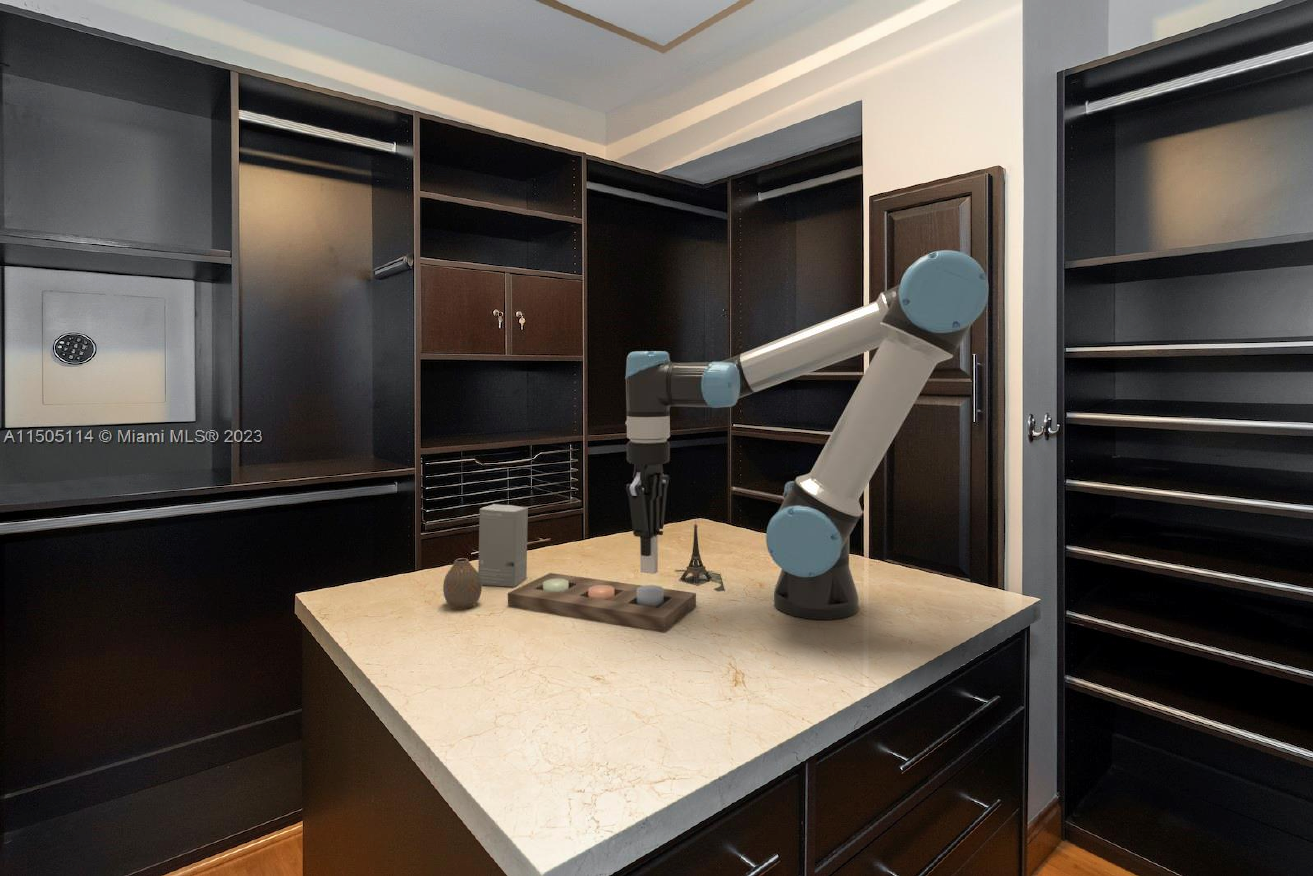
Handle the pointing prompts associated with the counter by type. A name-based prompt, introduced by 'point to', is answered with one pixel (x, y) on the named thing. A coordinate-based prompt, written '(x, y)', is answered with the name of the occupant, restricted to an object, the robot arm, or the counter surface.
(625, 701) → the counter surface
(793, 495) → the robot arm
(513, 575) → the skincare box
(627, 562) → the counter surface
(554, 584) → the button sage
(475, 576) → the vase
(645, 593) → the button slate
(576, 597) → the button board
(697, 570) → the eiffel tower figurine
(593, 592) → the button terracotta
